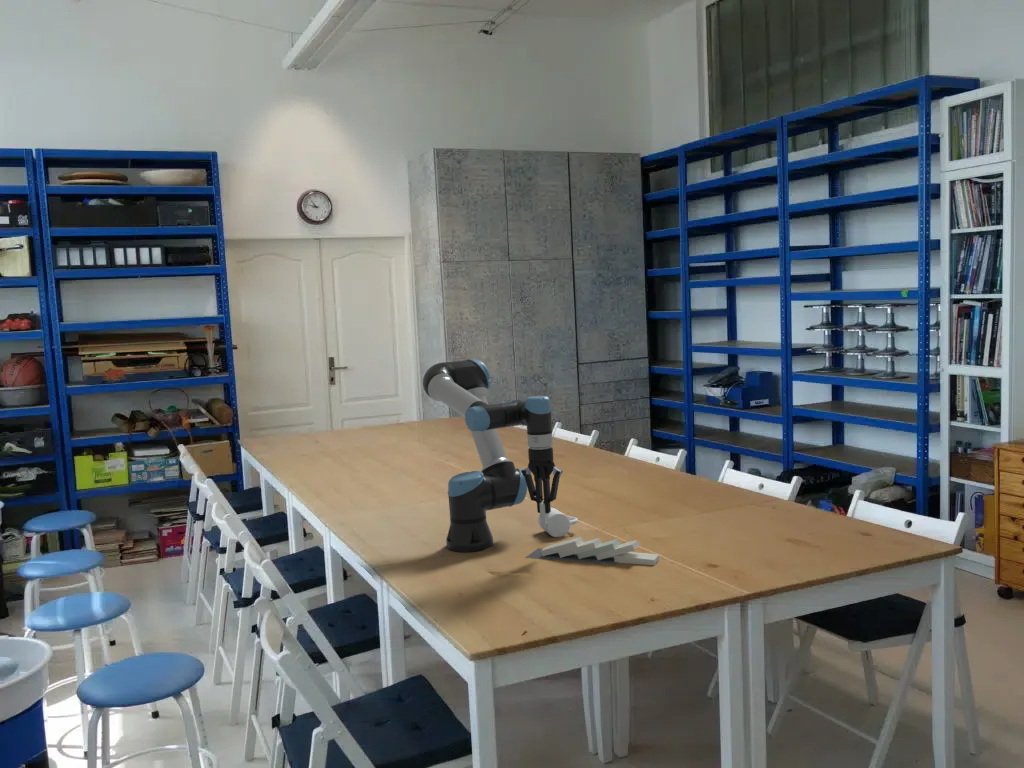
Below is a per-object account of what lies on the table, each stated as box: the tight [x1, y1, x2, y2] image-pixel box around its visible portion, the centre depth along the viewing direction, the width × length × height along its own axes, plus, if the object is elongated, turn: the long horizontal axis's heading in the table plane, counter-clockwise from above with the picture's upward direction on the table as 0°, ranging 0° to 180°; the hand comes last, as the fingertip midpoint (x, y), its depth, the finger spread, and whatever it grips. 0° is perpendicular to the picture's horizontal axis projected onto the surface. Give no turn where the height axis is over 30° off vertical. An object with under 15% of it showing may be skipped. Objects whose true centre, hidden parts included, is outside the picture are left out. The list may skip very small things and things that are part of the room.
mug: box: [537, 506, 579, 538], centre depth 303 cm, size 12×10×8 cm
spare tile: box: [577, 538, 621, 559], centre depth 272 cm, size 2×5×12 cm
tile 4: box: [596, 539, 641, 560], centre depth 269 cm, size 2×5×12 cm
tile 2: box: [558, 537, 602, 558], centre depth 274 cm, size 2×5×12 cm
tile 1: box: [541, 536, 584, 556], centre depth 277 cm, size 2×5×12 cm
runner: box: [524, 547, 619, 566], centre depth 275 cm, size 29×10×1 cm, turn 65°
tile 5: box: [614, 551, 660, 566], centre depth 267 cm, size 2×5×12 cm
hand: (544, 523), depth 279 cm, fingers closed
